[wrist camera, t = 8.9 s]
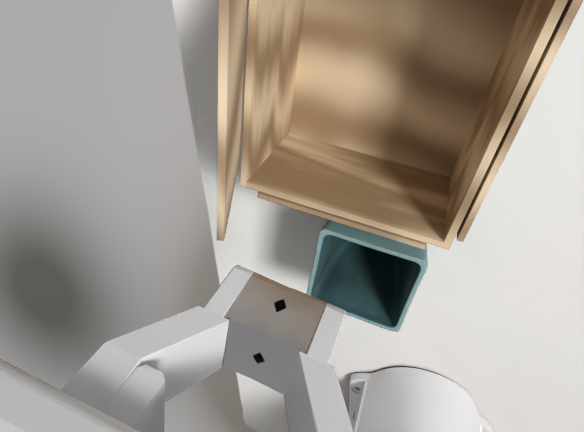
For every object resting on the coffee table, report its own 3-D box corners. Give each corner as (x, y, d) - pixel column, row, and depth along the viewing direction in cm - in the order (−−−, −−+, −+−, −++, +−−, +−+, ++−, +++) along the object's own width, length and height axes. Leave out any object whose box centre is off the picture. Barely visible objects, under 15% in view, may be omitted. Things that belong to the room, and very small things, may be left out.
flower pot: (345, 175, 40) (319, 228, 33) (437, 201, 38) (429, 263, 31) (330, 243, 45) (304, 300, 38) (410, 268, 44) (398, 334, 37)
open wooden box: (458, 188, 37) (454, 258, 29) (284, 139, 40) (239, 191, 32) (569, -62, 25) (610, -54, 18) (313, -101, 29) (254, -109, 21)
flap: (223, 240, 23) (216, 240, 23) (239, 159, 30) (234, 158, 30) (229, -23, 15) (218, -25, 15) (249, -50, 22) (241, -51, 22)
